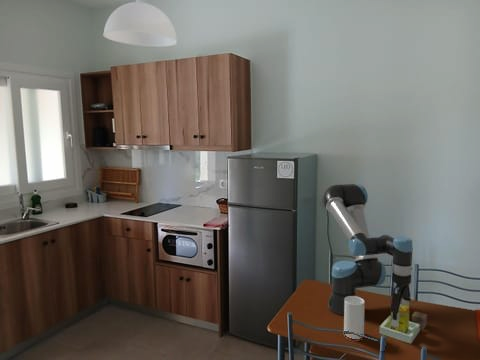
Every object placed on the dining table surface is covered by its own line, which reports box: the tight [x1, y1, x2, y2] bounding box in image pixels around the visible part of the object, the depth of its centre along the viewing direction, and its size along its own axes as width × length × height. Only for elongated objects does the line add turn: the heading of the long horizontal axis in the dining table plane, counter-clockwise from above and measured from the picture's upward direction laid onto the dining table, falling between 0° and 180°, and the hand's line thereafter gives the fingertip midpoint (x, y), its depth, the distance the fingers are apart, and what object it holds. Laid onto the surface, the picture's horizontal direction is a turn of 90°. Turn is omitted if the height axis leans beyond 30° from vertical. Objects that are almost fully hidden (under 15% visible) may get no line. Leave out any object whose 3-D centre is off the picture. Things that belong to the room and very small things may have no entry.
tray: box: [379, 314, 421, 345], centre depth 157 cm, size 13×13×3 cm
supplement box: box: [390, 304, 411, 333], centre depth 156 cm, size 6×6×11 cm
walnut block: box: [411, 311, 428, 330], centre depth 162 cm, size 5×5×5 cm
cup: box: [343, 295, 365, 339], centre depth 155 cm, size 8×8×16 cm
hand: (400, 320), depth 157 cm, fingers open, 13 cm apart
